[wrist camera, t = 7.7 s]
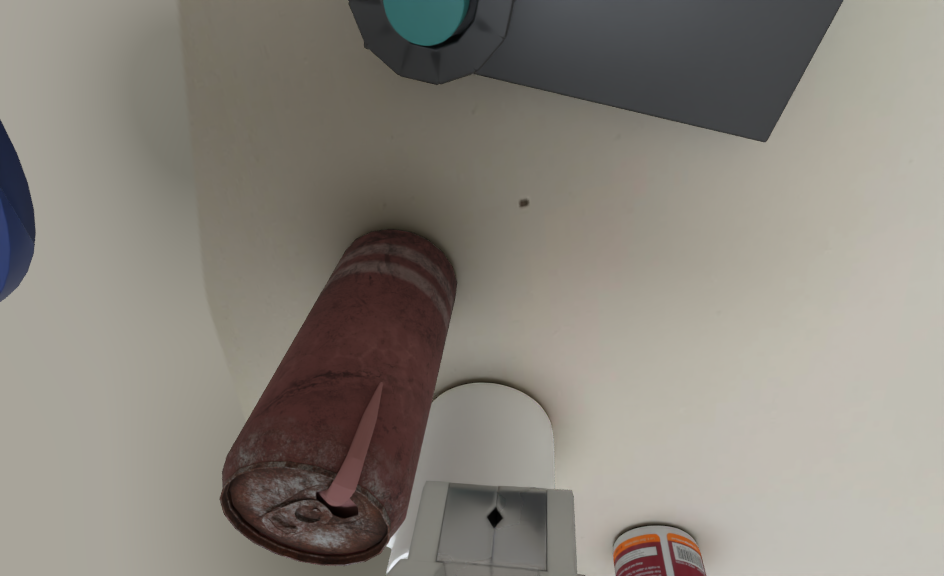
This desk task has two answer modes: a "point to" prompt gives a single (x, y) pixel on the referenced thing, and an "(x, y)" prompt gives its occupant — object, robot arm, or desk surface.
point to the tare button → (426, 19)
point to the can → (346, 408)
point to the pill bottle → (657, 553)
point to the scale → (627, 53)
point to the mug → (480, 447)
